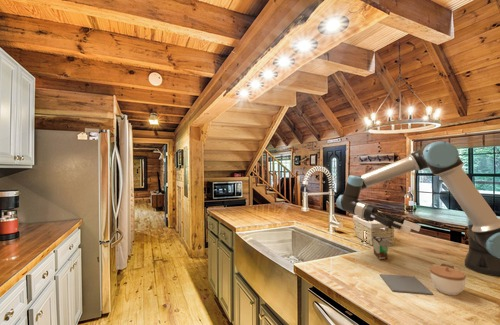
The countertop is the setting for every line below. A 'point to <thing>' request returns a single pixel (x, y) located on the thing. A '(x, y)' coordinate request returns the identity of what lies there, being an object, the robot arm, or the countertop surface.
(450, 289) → the lidded jar
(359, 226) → the storage basket
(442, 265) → the walnut block
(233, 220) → the countertop surface
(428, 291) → the slate mat
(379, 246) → the food container
